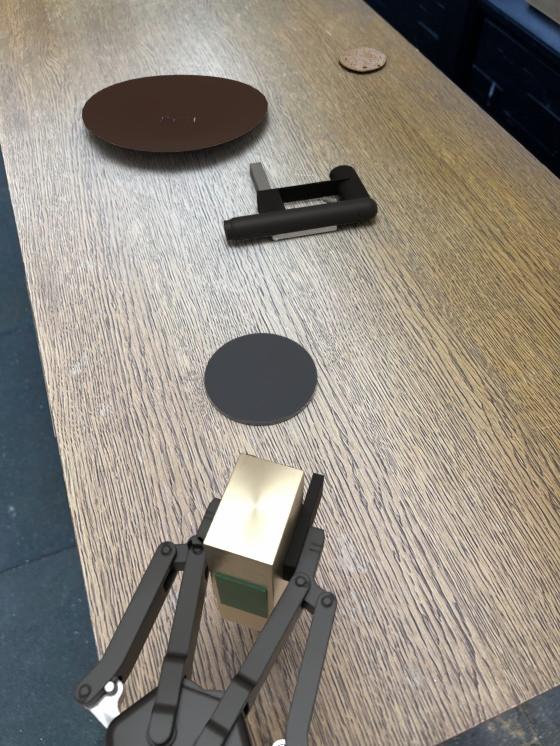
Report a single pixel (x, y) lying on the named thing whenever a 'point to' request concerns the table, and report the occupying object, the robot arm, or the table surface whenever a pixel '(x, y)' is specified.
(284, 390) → the coaster
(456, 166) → the table surface
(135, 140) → the plate
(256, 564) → the tea tin
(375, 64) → the flatbread
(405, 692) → the table surface
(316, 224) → the door handle
